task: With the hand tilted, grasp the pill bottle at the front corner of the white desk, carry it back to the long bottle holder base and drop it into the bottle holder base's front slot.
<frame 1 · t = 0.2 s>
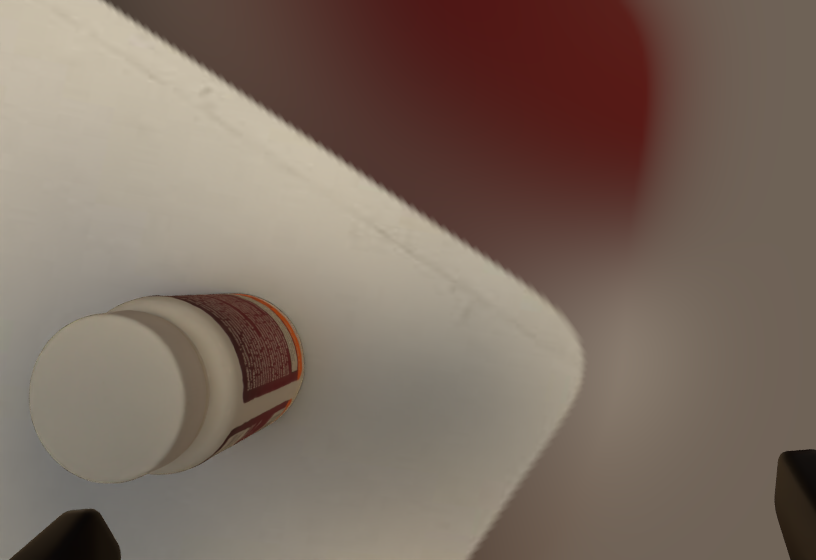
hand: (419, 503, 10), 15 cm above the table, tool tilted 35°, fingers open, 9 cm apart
pill bottle: (242, 361, 26), on the table
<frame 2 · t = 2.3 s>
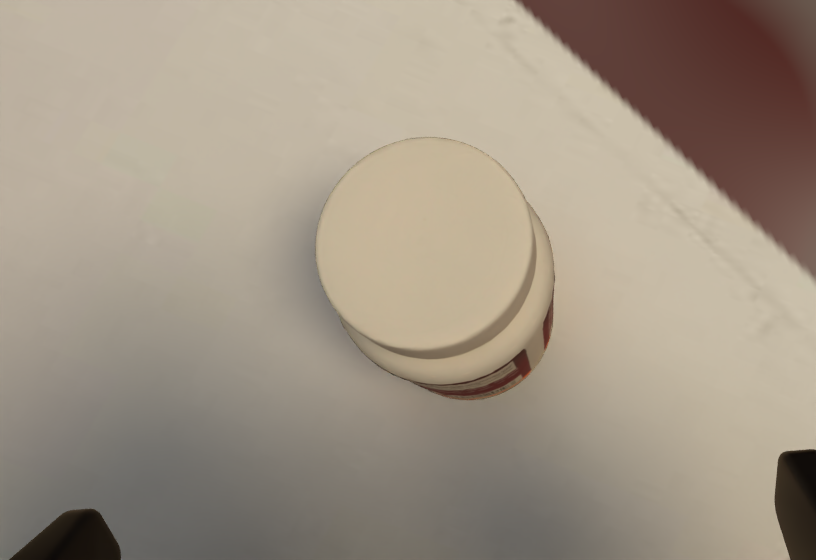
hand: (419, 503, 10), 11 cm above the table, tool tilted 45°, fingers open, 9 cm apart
pill bottle: (468, 319, 22), on the table
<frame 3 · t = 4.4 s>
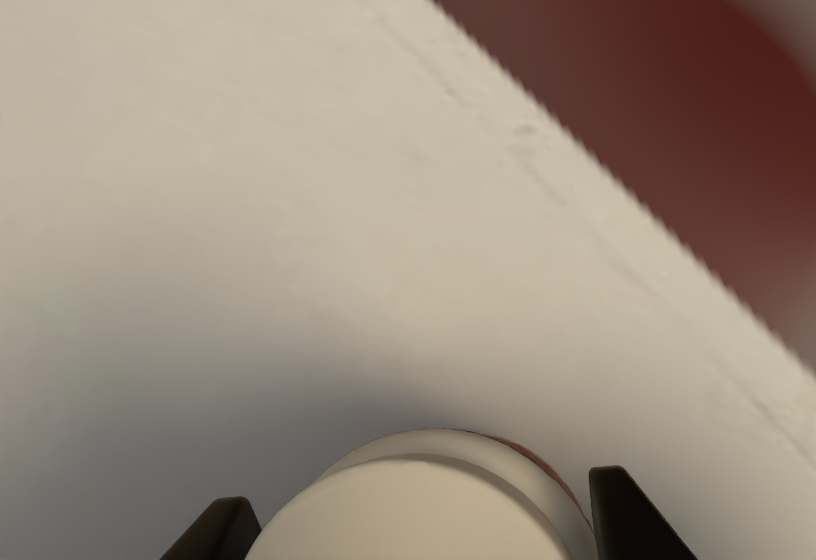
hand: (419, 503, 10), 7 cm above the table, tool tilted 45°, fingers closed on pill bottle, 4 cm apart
pill bottle: (475, 547, 16), on the table, touching gripper
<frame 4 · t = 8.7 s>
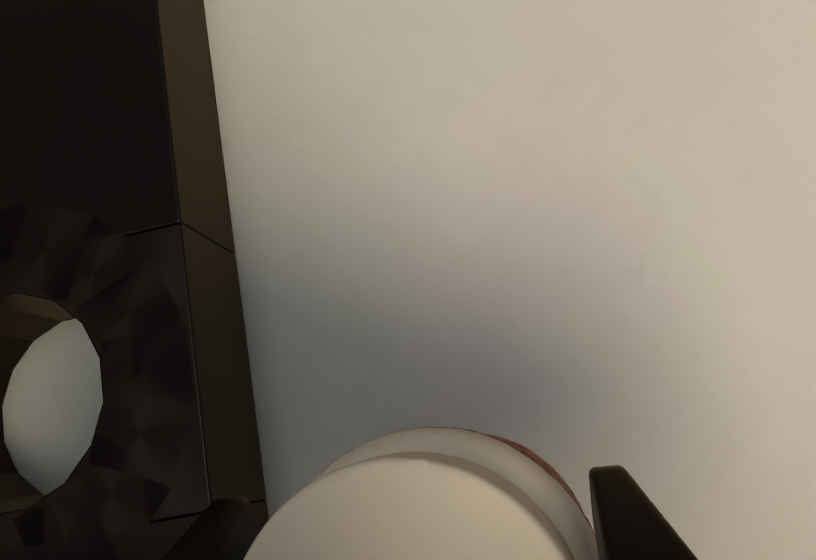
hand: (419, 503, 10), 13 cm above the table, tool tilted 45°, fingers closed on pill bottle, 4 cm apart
pill bottle: (475, 546, 16), point 7 cm above the table, touching gripper
bottle holder base: (68, 187, 27), on the table
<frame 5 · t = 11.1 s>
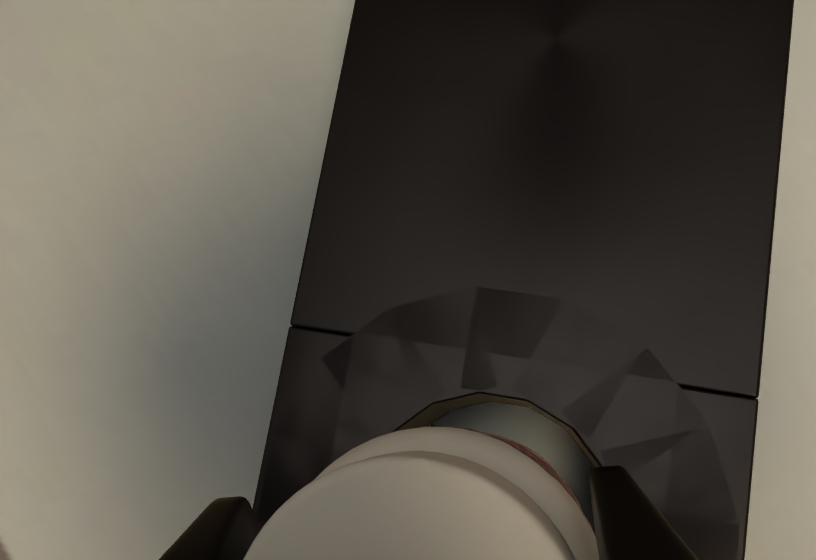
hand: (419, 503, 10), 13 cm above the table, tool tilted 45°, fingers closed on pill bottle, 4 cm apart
pill bottle: (475, 546, 16), point 6 cm above the table, touching gripper
bottle holder base: (533, 249, 24), on the table
when the fingers open (7 cm above the table, at t = 13.3 s): pill bottle stays where it is, resting in bottle holder base.
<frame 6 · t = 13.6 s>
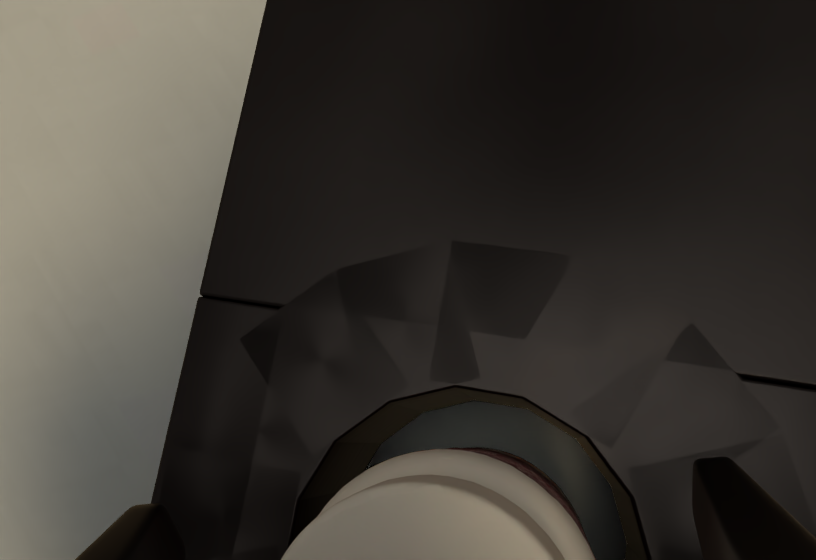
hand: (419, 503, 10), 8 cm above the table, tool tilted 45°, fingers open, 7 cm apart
pill bottle: (478, 555, 17), resting in bottle holder base
bottle holder base: (531, 203, 18), on the table
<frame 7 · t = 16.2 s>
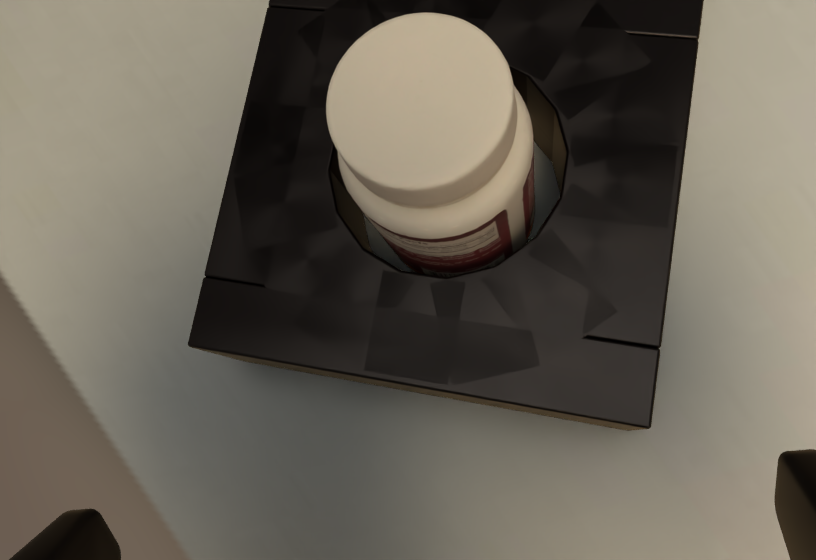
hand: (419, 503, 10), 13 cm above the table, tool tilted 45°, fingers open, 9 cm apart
pill bottle: (458, 216, 24), resting in bottle holder base
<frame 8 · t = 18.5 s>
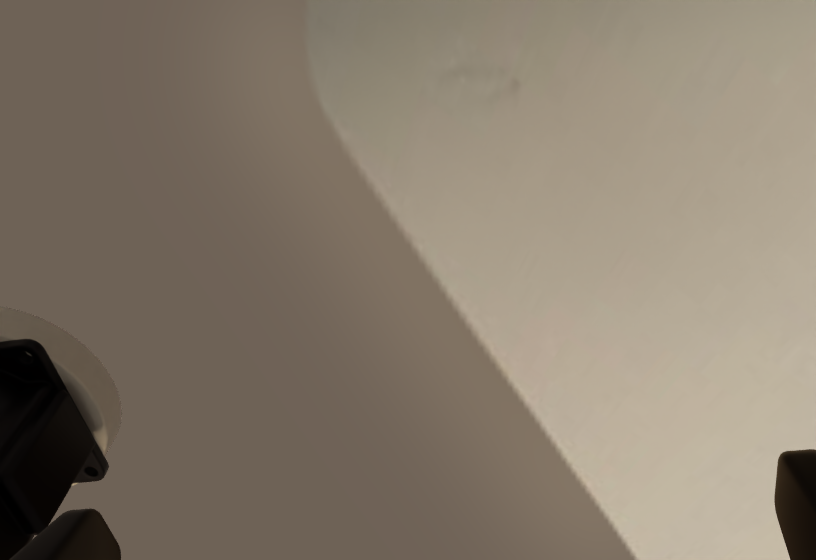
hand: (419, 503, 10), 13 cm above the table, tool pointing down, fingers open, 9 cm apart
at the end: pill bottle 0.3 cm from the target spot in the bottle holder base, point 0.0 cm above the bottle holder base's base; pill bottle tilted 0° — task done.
